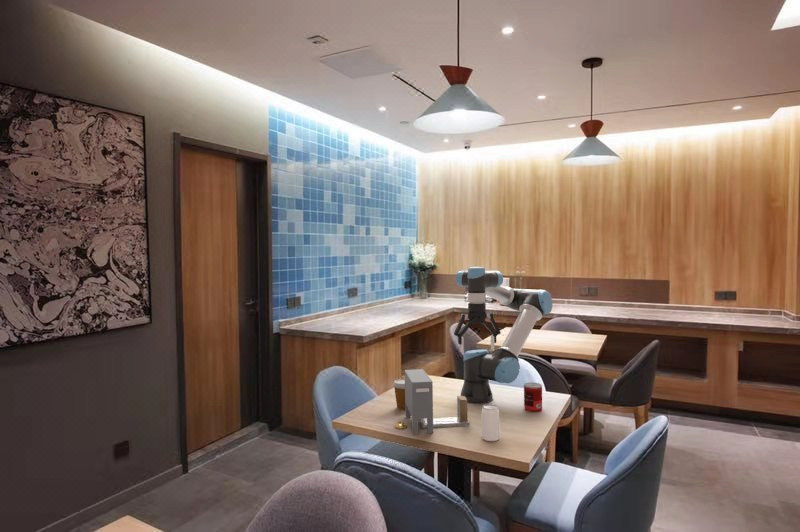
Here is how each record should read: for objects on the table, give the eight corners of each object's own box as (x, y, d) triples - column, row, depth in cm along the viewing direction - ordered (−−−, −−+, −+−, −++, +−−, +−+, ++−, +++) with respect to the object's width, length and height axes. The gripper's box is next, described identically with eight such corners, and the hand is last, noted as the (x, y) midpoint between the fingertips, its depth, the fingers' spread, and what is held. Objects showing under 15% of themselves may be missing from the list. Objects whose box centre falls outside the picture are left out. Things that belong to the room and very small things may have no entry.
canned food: (542, 407, 216) (542, 382, 215) (541, 413, 208) (541, 387, 208) (525, 405, 218) (524, 381, 218) (523, 411, 211) (523, 386, 210)
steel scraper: (465, 420, 201) (464, 395, 201) (469, 425, 194) (469, 400, 194) (420, 422, 199) (419, 397, 199) (422, 428, 192) (422, 402, 192)
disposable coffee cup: (412, 411, 213) (412, 384, 212) (391, 410, 214) (391, 383, 214) (416, 405, 222) (415, 379, 222) (395, 404, 224) (395, 378, 224)
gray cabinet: (423, 415, 207) (423, 369, 207) (433, 433, 185) (432, 382, 185) (405, 416, 206) (404, 369, 206) (413, 435, 184) (412, 383, 184)
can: (479, 435, 183) (479, 404, 182) (496, 435, 183) (496, 403, 183) (484, 442, 176) (483, 409, 176) (501, 441, 177) (501, 408, 177)
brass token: (399, 424, 197) (399, 421, 197) (409, 426, 194) (409, 424, 194) (392, 427, 193) (392, 424, 193) (402, 430, 190) (402, 427, 190)
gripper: (501, 300, 214) (502, 348, 215) (446, 302, 211) (447, 350, 212) (507, 302, 207) (508, 351, 207) (450, 304, 204) (451, 354, 204)
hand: (477, 351), depth 210 cm, fingers open, 13 cm apart
